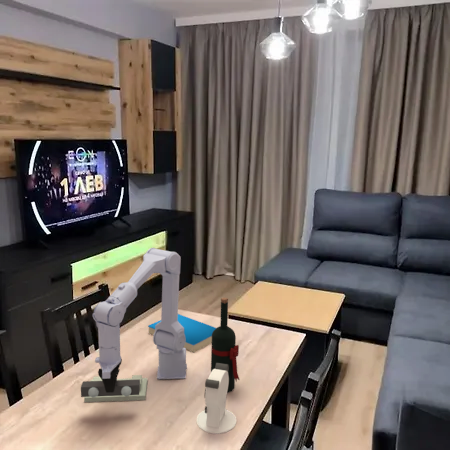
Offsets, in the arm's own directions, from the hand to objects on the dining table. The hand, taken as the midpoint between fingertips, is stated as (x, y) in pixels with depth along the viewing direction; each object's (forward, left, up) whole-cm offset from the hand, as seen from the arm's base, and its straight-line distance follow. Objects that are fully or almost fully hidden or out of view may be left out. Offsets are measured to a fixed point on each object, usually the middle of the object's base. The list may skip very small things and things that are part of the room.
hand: (111, 388), depth 127 cm
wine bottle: (-34, -11, -8) cm, 37 cm away
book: (-21, -50, -9) cm, 55 cm away
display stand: (0, -11, -8) cm, 14 cm away
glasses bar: (0, 0, -2) cm, 2 cm away
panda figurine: (-30, +5, -9) cm, 31 cm away
